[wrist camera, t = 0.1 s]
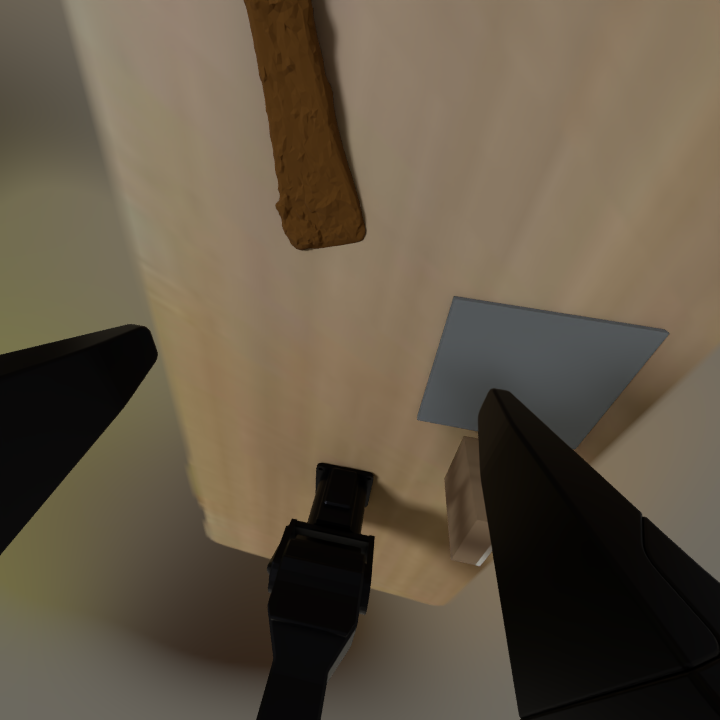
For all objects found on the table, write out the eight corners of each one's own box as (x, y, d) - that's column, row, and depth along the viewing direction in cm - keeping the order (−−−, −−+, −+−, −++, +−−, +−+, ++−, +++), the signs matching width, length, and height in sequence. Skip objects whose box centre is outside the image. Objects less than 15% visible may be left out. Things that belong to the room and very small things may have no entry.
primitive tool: (368, 239, 20) (359, 254, 18) (293, 250, 22) (273, 266, 19) (270, -366, 10) (211, -566, 7) (138, -274, 11) (44, -414, 9)
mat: (572, 444, 27) (575, 449, 27) (417, 416, 28) (417, 420, 28) (664, 329, 20) (669, 333, 20) (453, 296, 21) (454, 298, 21)
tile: (467, 483, 33) (479, 566, 26) (444, 478, 33) (450, 559, 27) (490, 441, 29) (511, 526, 22) (463, 435, 29) (477, 519, 22)
